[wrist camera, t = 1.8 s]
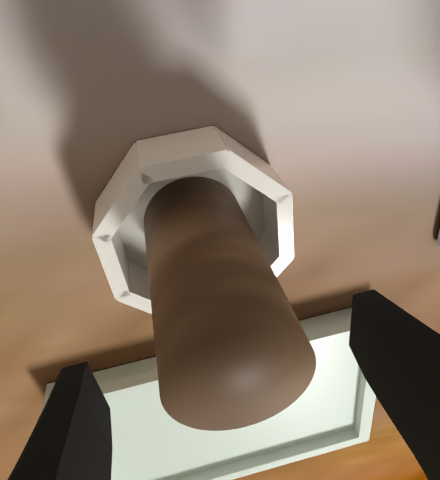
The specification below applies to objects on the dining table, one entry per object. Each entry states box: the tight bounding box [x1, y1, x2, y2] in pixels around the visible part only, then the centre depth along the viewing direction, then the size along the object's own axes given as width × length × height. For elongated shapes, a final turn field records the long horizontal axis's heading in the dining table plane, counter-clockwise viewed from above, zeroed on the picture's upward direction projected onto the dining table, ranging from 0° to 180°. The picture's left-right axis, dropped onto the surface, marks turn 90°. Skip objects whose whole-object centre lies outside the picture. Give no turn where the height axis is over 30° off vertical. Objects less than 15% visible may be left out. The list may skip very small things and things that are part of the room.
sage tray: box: [42, 307, 376, 480], centre depth 24 cm, size 18×12×2 cm, turn 98°
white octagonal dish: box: [92, 126, 294, 314], centre depth 16 cm, size 7×7×2 cm
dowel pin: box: [144, 176, 316, 431], centre depth 13 cm, size 4×4×8 cm
